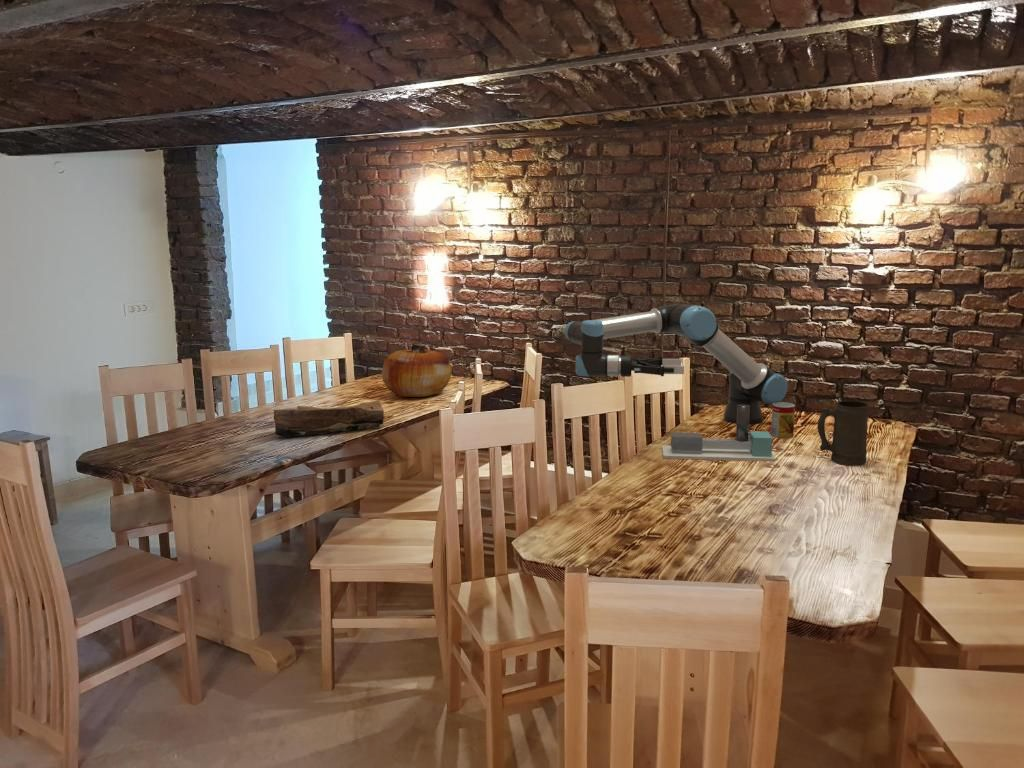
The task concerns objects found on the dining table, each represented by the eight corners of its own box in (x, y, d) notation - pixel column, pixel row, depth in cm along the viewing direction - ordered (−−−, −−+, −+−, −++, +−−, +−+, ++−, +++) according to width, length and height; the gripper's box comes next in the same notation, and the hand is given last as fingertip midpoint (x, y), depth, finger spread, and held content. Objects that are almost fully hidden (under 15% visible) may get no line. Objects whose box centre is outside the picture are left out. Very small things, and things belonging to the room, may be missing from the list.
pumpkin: (458, 388, 371) (454, 338, 367) (445, 400, 339) (441, 345, 335) (394, 391, 375) (389, 342, 371) (376, 403, 342) (370, 349, 338)
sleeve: (671, 453, 253) (672, 436, 252) (671, 448, 259) (671, 432, 257) (701, 453, 251) (702, 437, 250) (700, 449, 257) (700, 432, 256)
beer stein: (861, 456, 249) (862, 398, 245) (873, 466, 238) (874, 406, 234) (814, 458, 250) (813, 401, 246) (824, 468, 240) (824, 409, 236)
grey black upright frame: (698, 449, 252) (700, 406, 249) (697, 445, 256) (698, 403, 253) (762, 450, 249) (764, 407, 246) (760, 447, 253) (762, 404, 250)
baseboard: (663, 458, 251) (663, 455, 251) (661, 448, 262) (661, 445, 262) (775, 461, 245) (775, 458, 245) (768, 451, 257) (769, 448, 256)
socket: (752, 456, 248) (753, 437, 247) (749, 449, 256) (749, 431, 254) (771, 456, 247) (772, 438, 246) (767, 449, 255) (768, 431, 253)
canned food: (797, 437, 273) (799, 405, 270) (780, 439, 270) (782, 407, 267) (782, 432, 280) (784, 401, 277) (766, 434, 277) (767, 403, 274)
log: (270, 440, 280) (274, 402, 276) (270, 425, 296) (274, 390, 292) (382, 446, 294) (387, 410, 291) (376, 432, 310) (380, 398, 307)
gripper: (620, 369, 270) (679, 370, 266) (619, 383, 245) (684, 384, 242) (620, 349, 268) (680, 349, 265) (619, 361, 244) (685, 361, 241)
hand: (682, 366), depth 253 cm, fingers open, 13 cm apart
